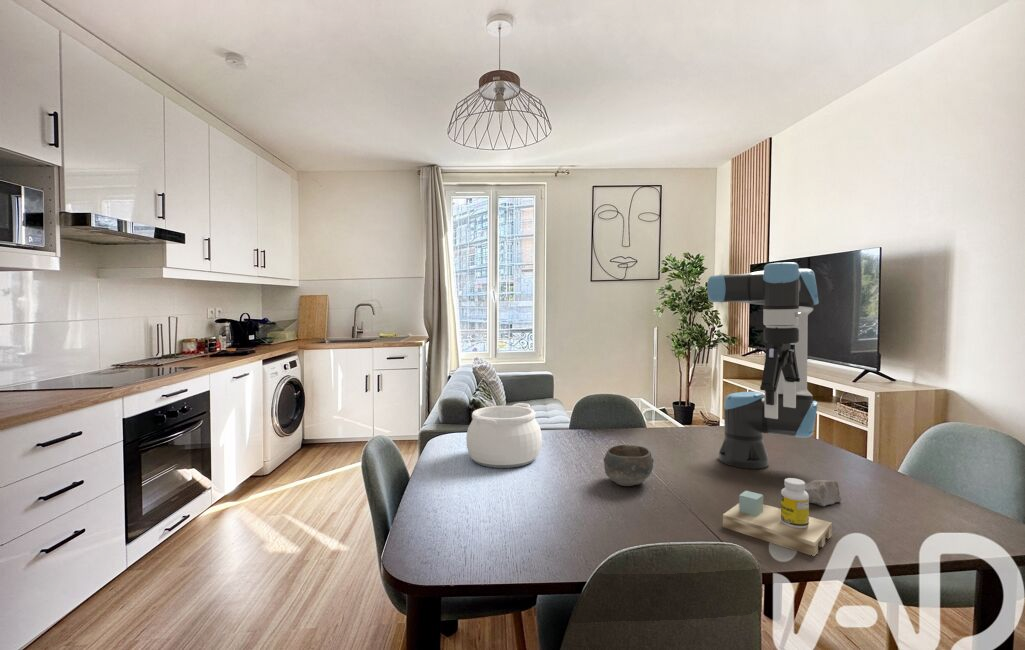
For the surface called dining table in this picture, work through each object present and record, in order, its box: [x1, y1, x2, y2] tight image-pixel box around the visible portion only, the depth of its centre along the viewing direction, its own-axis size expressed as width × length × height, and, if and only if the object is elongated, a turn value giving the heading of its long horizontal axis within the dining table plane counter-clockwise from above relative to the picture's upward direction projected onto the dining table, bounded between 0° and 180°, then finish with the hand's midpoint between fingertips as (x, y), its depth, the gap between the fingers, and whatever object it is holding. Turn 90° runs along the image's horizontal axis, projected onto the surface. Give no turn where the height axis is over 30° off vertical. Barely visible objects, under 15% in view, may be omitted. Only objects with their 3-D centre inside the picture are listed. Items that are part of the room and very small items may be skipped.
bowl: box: [603, 444, 655, 487], centre depth 141 cm, size 14×15×10 cm
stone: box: [805, 479, 842, 507], centre depth 127 cm, size 10×8×6 cm
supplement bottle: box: [780, 477, 810, 528], centre depth 107 cm, size 5×5×10 cm
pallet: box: [722, 502, 833, 557], centre depth 110 cm, size 19×13×3 cm
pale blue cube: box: [738, 490, 764, 516], centre depth 114 cm, size 4×4×4 cm
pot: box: [466, 402, 543, 469], centre depth 166 cm, size 29×26×17 cm
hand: (780, 412), depth 117 cm, fingers open, 13 cm apart
